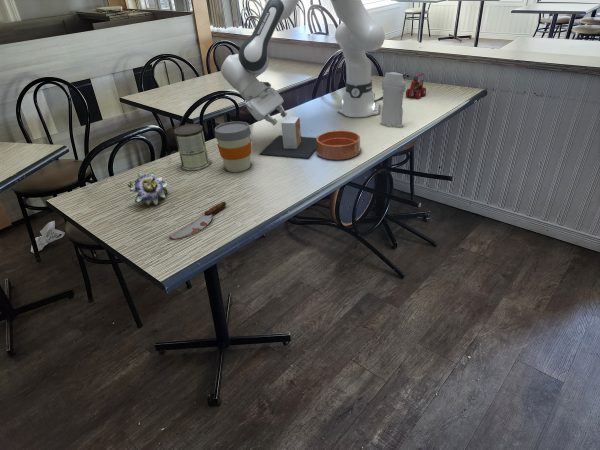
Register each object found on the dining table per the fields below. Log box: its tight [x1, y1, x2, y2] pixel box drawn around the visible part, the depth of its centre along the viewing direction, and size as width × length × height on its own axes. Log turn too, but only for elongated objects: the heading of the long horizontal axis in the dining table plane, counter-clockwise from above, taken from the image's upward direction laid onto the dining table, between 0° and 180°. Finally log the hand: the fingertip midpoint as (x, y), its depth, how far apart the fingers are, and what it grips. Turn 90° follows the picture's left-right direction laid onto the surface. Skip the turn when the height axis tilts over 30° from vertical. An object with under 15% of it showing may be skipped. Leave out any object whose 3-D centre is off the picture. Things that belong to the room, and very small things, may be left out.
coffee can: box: [173, 123, 210, 171], centre depth 154 cm, size 10×10×14 cm
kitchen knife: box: [169, 201, 227, 240], centre depth 121 cm, size 21×2×5 cm
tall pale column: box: [380, 71, 407, 128], centre depth 174 cm, size 11×4×22 cm, turn 51°
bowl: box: [315, 130, 361, 161], centre depth 158 cm, size 16×16×6 cm
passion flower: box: [127, 171, 168, 206], centre depth 134 cm, size 11×11×12 cm
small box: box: [280, 116, 302, 149], centre depth 163 cm, size 8×6×10 cm
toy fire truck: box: [405, 73, 427, 99], centre depth 211 cm, size 7×12×10 cm, turn 139°
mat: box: [259, 134, 317, 160], centre depth 166 cm, size 20×20×1 cm
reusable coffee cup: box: [214, 121, 252, 173], centre depth 149 cm, size 13×13×15 cm
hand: (280, 119), depth 162 cm, fingers open, 8 cm apart
